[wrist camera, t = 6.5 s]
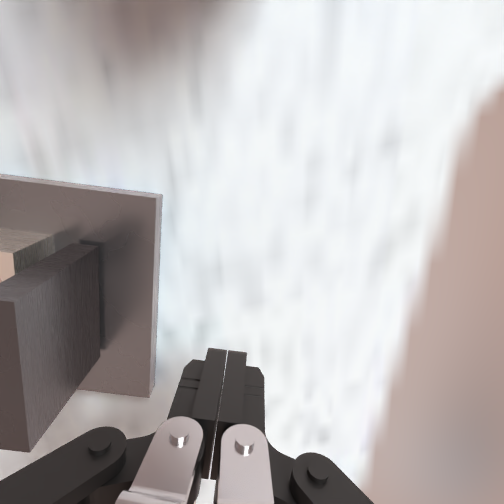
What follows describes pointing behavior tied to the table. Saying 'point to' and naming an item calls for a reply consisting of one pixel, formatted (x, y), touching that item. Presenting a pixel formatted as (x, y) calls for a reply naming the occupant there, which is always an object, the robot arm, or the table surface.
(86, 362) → the plunger
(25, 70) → the table surface
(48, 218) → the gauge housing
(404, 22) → the table surface
